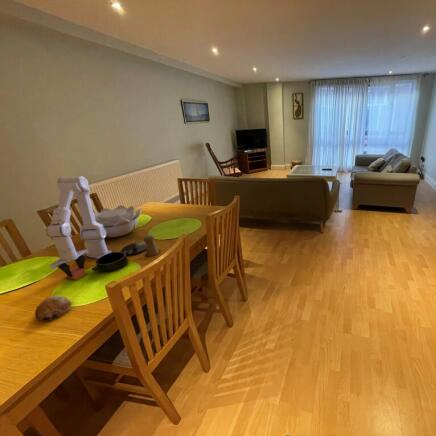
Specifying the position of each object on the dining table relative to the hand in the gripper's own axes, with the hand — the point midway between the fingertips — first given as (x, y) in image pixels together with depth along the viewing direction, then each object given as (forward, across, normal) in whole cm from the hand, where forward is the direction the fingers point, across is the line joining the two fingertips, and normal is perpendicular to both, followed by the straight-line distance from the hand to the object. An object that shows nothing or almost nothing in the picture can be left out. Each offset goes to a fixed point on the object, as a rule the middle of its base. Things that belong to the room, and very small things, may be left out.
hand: (76, 273), depth 114 cm
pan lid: (+1, +28, -4) cm, 28 cm away
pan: (+1, +12, -8) cm, 14 cm away
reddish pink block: (+1, 0, 0) cm, 1 cm away
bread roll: (+2, -19, -18) cm, 26 cm away
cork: (+2, +28, -17) cm, 33 cm away
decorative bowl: (+2, +40, +24) cm, 47 cm away
